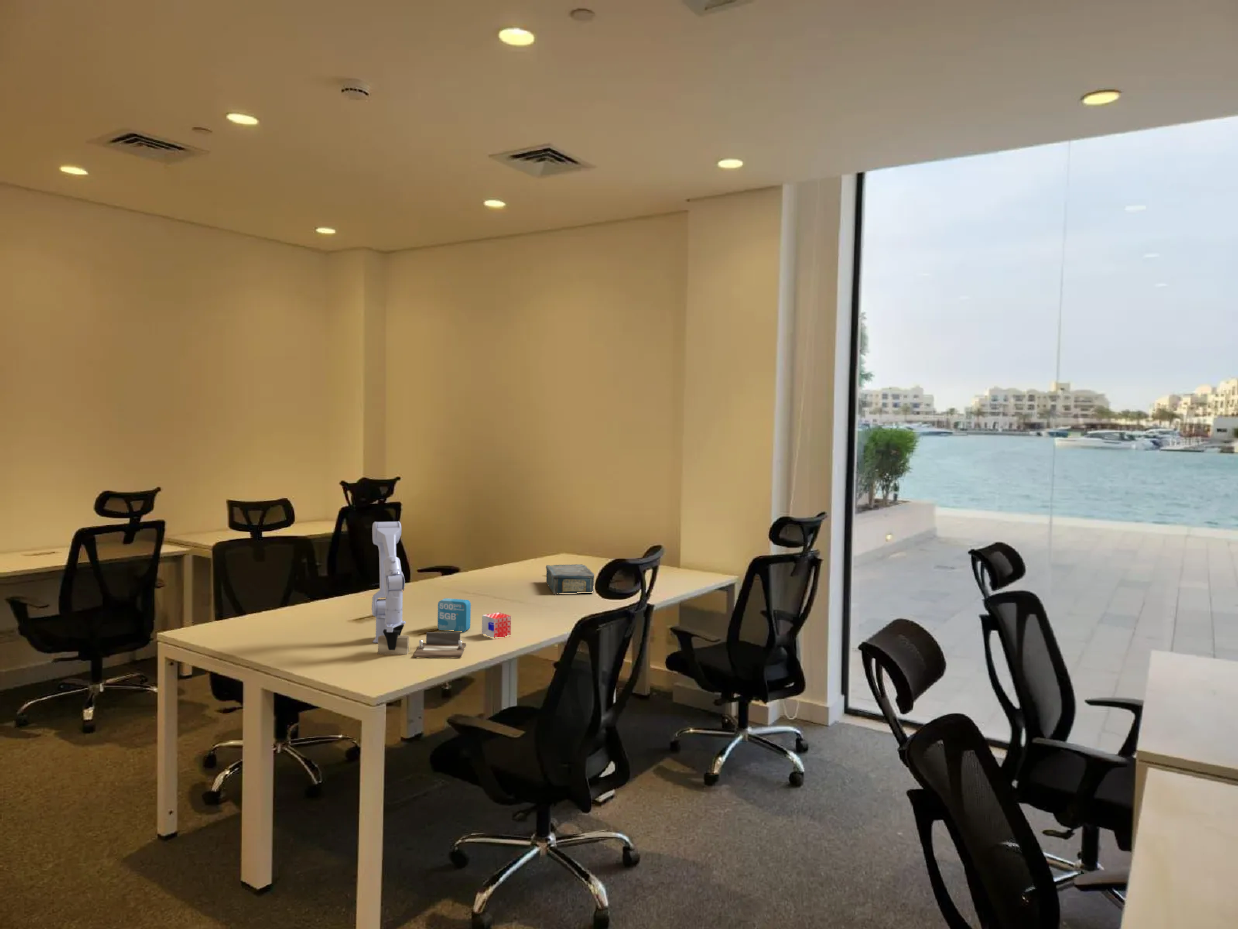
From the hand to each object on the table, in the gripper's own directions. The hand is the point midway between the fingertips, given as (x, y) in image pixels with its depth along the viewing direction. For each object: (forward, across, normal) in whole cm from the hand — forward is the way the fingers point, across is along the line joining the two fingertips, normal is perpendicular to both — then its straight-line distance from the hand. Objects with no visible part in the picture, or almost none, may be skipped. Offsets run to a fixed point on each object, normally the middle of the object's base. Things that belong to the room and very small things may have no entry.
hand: (393, 647), depth 285 cm
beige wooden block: (+2, 0, 0) cm, 2 cm away
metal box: (+2, +120, -64) cm, 136 cm away
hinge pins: (+2, +2, -16) cm, 16 cm away
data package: (+2, +33, -17) cm, 37 cm away
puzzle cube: (+2, +25, -34) cm, 42 cm away
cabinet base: (+2, +2, -16) cm, 16 cm away
